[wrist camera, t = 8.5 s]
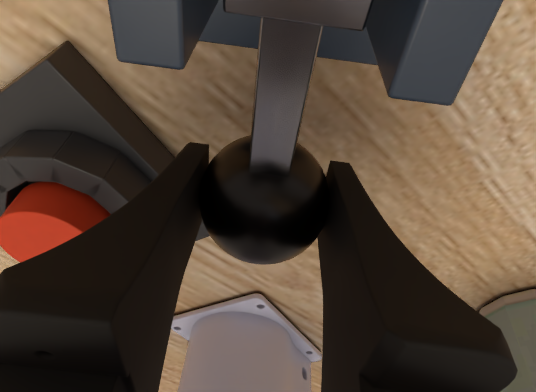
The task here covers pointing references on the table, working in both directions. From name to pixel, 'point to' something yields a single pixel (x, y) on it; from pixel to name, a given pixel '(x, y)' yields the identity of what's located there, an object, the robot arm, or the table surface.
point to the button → (46, 219)
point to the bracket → (323, 39)
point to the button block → (74, 135)
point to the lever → (275, 138)
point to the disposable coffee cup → (517, 334)
